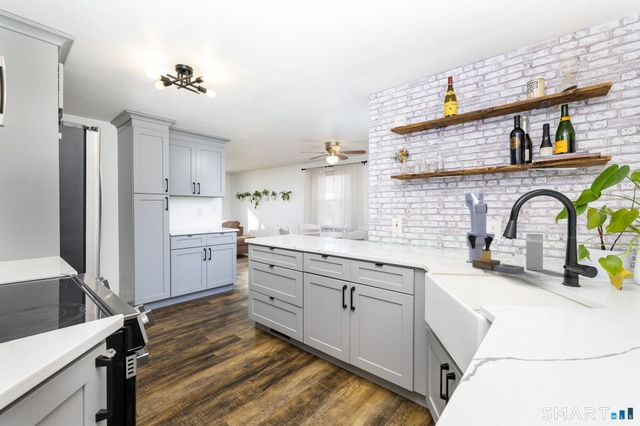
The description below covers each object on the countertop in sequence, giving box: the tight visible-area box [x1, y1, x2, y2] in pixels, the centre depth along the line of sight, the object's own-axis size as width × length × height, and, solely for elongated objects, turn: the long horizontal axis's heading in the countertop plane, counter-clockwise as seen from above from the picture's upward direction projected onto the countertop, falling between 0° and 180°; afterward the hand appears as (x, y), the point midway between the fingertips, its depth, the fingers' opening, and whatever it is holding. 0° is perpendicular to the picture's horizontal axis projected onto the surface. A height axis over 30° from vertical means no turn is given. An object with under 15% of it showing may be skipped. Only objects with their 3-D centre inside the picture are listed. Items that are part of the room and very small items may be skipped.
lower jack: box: [493, 263, 525, 275], centre depth 151 cm, size 10×10×2 cm
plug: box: [482, 248, 492, 261], centre depth 161 cm, size 3×3×8 cm
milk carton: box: [525, 233, 544, 272], centre depth 155 cm, size 7×7×19 cm
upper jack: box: [471, 258, 501, 271], centre depth 161 cm, size 10×10×4 cm
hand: (480, 249), depth 161 cm, fingers open, 7 cm apart
